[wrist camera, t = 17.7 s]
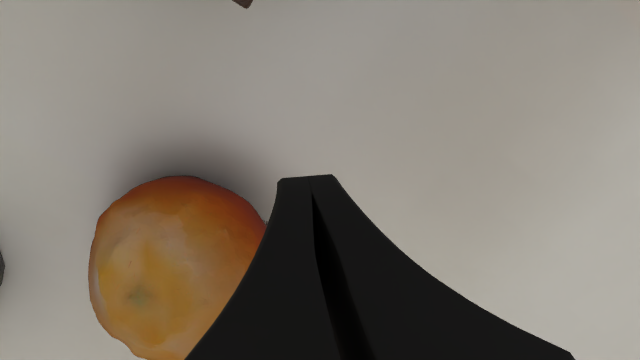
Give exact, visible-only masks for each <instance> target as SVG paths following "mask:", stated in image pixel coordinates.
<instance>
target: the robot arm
mask: <svg viewBox="0 0 640 360" xmlns="http://www.w3.org/2000/svg"><path fill="white" fill-rule="evenodd" d="M184 360H575V359H574V357H573V356H572V355H571V353H570V352H568V351H566V350H564V349H562V348H560V347H558V346H555V345H553V344H551V343H549V342H547V341H545V340H543V339H541V338H539V337H536V336H534V335H532V334H530V333H528V332H526V331H524V330H522V329H520V328H517V327H516V326H514V325H512V324H510V323H508V322H506V321H504V320H503V319H501V318H499V317H497V316H495V315H493V314H492V313H490V312H488V311H486V310H484V309H483V308H481V307H479V306H478V305H476V304H474V303H473V302H471V301H469V300H468V299H466V298H465V297H463V296H462V295H460V294H459V293H457V292H456V291H454V290H452V289H451V288H449V287H448V286H446V285H445V284H443V283H442V282H440V281H439V280H438V279H436V278H435V277H433V276H432V275H431V274H429V273H428V272H427V271H425V270H424V269H423V268H422V267H420V266H419V265H418V264H417V263H415V262H414V261H413V260H412V259H410V258H409V257H408V256H407V255H406V254H405V253H404V252H402V251H401V250H400V249H399V248H398V247H397V246H396V245H395V244H394V243H393V242H392V241H391V240H389V239H388V238H387V237H386V236H385V235H384V234H383V233H382V232H381V231H380V230H379V229H378V228H377V227H376V226H375V224H374V223H373V222H372V221H371V220H370V219H369V218H368V217H367V216H366V215H365V214H364V213H363V211H362V210H361V209H360V208H359V207H358V206H357V205H356V203H355V202H354V201H353V200H352V198H351V197H350V196H349V195H348V193H347V192H346V191H345V190H344V188H343V187H342V186H341V184H340V183H339V182H338V180H337V179H336V178H335V177H334V176H333V175H332V174H328V175H316V176H303V177H291V178H282V179H280V180H279V181H278V182H277V194H276V199H275V203H274V207H273V210H272V213H271V216H270V219H269V222H268V225H267V227H266V230H265V233H264V235H263V238H262V240H261V242H260V244H259V246H258V249H257V251H256V253H255V255H254V257H253V259H252V261H251V263H250V265H249V267H248V269H247V271H246V273H245V275H244V276H243V278H242V280H241V281H240V283H239V285H238V287H237V288H236V290H235V292H234V293H233V295H232V296H231V298H230V299H229V301H228V302H227V304H226V305H225V307H224V308H223V310H222V311H221V313H220V314H219V316H218V317H217V318H216V320H215V321H214V323H213V324H212V325H211V327H210V328H209V329H208V330H207V332H206V333H205V334H204V335H203V337H202V338H201V339H200V340H199V342H198V343H197V344H196V345H195V347H194V348H193V349H192V350H191V352H190V353H189V354H188V355H187V357H186V358H185V359H184Z"/></svg>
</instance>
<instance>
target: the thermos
mask: <svg viewBox="0 0 640 360" xmlns="http://www.w3.org/2000/svg"><path fill="white" fill-rule="evenodd" d="M4 267H5V265H4V262H3V259H2V255H1V252H0V286H1V284H2V279H3V273H4Z"/></svg>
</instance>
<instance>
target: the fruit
mask: <svg viewBox="0 0 640 360" xmlns="http://www.w3.org/2000/svg"><path fill="white" fill-rule="evenodd" d="M267 225H268V224H266V225H265V224H264V222H263V220H262V219H261V217H260V216H259V215H258V213H257V212H256V210H255V209H254V208H253V206H252V205H251V204H250V203H249V202H248V201H246V200H245V199H243V198H242V197H240V196H239V195H237V194H236V193H234V192H232V191H230V190H228V189H226V188H223V187H221V186H219V185H216V184H213V183H210V182H208V181H205V180H203V179H200V178H198V177H193V176H169V177H163V178H160V179H157V180H154V181H150V182H147V183H144V184H141V185H139V186H137V187H135V188H133V189H132V190H130V191H129V192H128V193H126V194H125V195H124V196H123V197H121V198H120V199H118V200H116V201H115V202H113V203H112V204H111V205H110V207H109V208H108V209H107V210H106V211H105V212H104V213H103V214H102V215H101V216H100V217H99V219H98V222H97V226H96V231H95V237H94V239H93V242H92V246H91V252H90V259H89V271H88V280H89V292H90V300H91V303H92V306H93V309H94V311H95V313H96V317H97V319H98V321H99V323H100V324H101V325H102V327H103V328H104V329H105V330H106V331H107V332H108V333H109V334H110V335H111V336H112V337H114V338H116V339H118V340H120V341H122V342H123V343H125V344H126V345H127V346H128V347H129V349H130V350H131V352H132V353H133V354H134V355H135V356H137V357H141V358H144V359H147V360H184V359H185V358H186V357H187V355H188V354H189V353H190V352H191V350H192V349H193V348H194V347H195V345H196V344H197V343H198V342H199V340H200V339H201V338H202V337H203V335H204V334H205V333H206V332H207V330H208V329H209V328H210V327H211V325H212V324H213V323H214V321H215V320H216V318H217V317H218V316H219V314H220V313H221V311H222V310H223V308H224V307H225V305H226V304H227V302H228V301H229V299H230V298H231V296H232V295H233V293H234V292H235V290H236V288H237V287H238V285H239V283H240V281H241V280H242V278H243V276H244V275H245V273H246V271H247V269H248V267H249V265H250V263H251V261H252V259H253V257H254V255H255V253H256V251H257V249H258V246H259V244H260V242H261V240H262V238H263V235H264V233H265V230H266V227H267Z"/></svg>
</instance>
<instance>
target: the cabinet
mask: <svg viewBox="0 0 640 360" xmlns="http://www.w3.org/2000/svg"><path fill="white" fill-rule="evenodd" d="M232 1H234V2H236V3H237V4H239V5H240V6H242V7H243V8H249V7H250V5H251V3H252V2H253V0H232Z"/></svg>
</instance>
